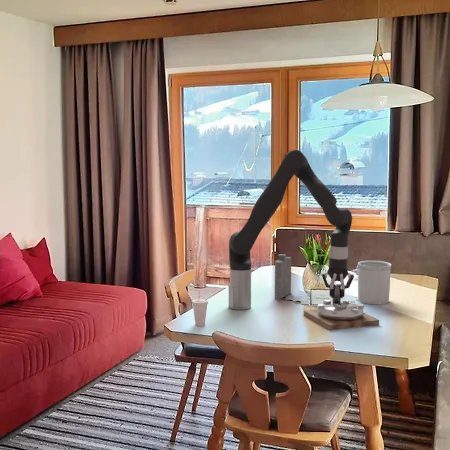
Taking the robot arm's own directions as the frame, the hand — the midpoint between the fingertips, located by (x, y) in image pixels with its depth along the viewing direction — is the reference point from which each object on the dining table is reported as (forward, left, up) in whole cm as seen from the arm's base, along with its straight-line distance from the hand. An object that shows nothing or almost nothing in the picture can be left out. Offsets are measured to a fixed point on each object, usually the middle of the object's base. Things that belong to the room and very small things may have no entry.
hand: (336, 297), depth 240 cm
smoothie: (-58, +4, -8) cm, 58 cm away
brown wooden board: (-2, -7, -8) cm, 10 cm away
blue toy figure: (+49, +61, -8) cm, 79 cm away
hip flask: (-8, +38, -8) cm, 40 cm away
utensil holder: (+28, +16, -8) cm, 34 cm away
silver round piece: (-2, -7, -5) cm, 9 cm away
